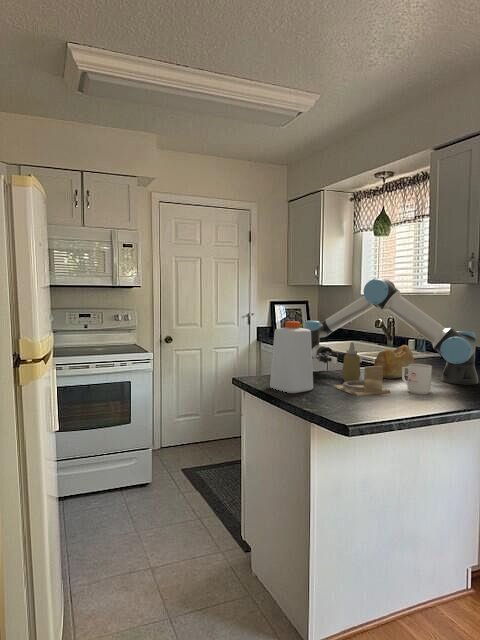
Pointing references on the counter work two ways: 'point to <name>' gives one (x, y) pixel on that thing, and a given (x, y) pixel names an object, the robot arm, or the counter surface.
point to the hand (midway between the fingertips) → (349, 360)
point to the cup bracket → (366, 383)
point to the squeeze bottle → (351, 365)
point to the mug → (418, 378)
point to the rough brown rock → (394, 361)
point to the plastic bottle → (292, 359)
